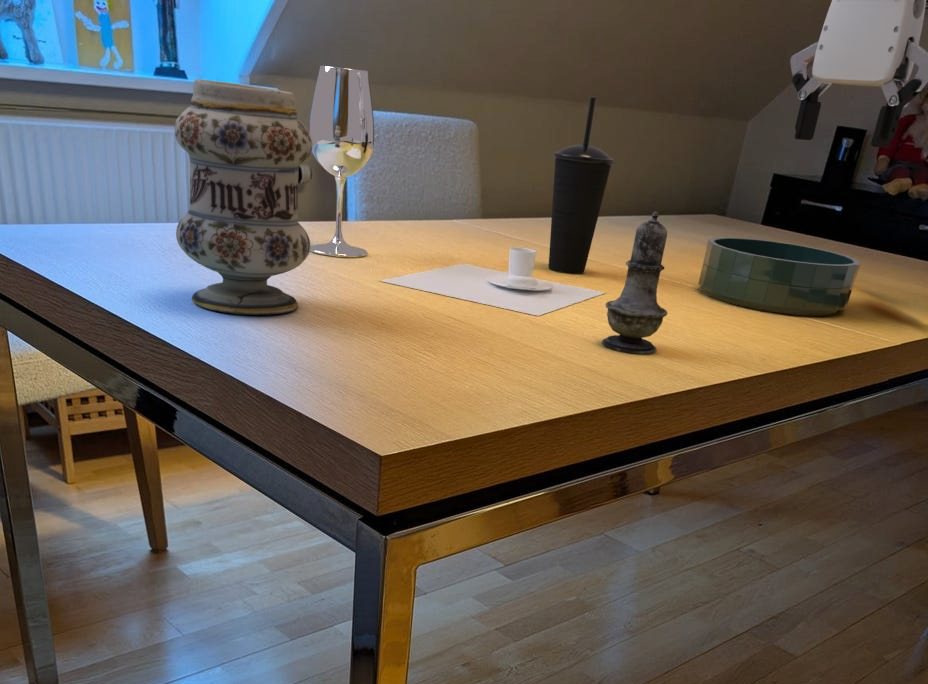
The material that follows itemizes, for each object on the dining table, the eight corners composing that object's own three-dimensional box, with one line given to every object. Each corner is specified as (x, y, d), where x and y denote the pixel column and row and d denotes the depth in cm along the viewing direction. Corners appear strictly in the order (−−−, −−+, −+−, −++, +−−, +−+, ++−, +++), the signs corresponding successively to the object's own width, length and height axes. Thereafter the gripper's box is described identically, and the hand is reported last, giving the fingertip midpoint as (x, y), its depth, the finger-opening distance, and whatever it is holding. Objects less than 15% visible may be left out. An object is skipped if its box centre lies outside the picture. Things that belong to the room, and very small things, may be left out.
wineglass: (376, 252, 119) (385, 73, 108) (357, 260, 112) (366, 70, 102) (319, 243, 120) (323, 65, 109) (297, 251, 113) (300, 63, 103)
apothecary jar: (334, 313, 87) (342, 95, 78) (226, 324, 80) (220, 84, 70) (261, 286, 94) (259, 83, 85) (155, 294, 86) (141, 72, 77)
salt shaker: (586, 342, 87) (610, 205, 81) (620, 335, 91) (645, 204, 85) (638, 357, 84) (667, 216, 78) (670, 350, 88) (701, 215, 82)
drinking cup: (535, 271, 119) (560, 93, 108) (540, 262, 125) (563, 94, 115) (593, 278, 118) (624, 101, 108) (595, 269, 124) (624, 100, 114)
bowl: (815, 293, 126) (829, 247, 123) (866, 324, 110) (884, 271, 107) (683, 279, 125) (694, 232, 122) (716, 307, 109) (729, 254, 106)
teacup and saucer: (532, 298, 103) (537, 259, 101) (471, 285, 106) (475, 247, 104) (563, 289, 110) (568, 252, 107) (504, 276, 112) (508, 241, 110)
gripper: (983, -35, 95) (926, 151, 103) (830, -30, 105) (791, 138, 114) (953, -46, 90) (896, 149, 99) (797, -40, 101) (758, 135, 110)
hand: (840, 143), depth 107 cm, fingers open, 9 cm apart
